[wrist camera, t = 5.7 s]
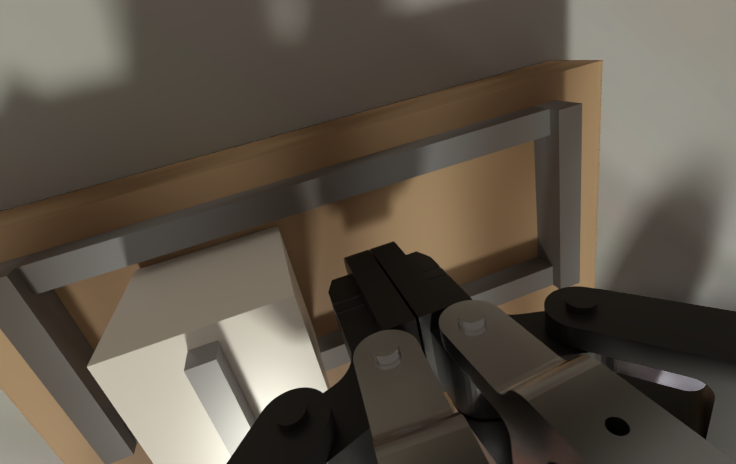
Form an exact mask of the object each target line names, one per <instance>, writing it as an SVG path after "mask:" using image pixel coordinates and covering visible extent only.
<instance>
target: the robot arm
mask: <svg viewBox="0 0 736 464" xmlns="http://www.w3.org/2000/svg"><path fill="white" fill-rule="evenodd" d="M344 263H345V267H346V271H347V274H348V275H346V276H343V277H340V278H337V279H334V280H332V281H331V285H330V288H329V291H328V293H329V296H330V300H331V303H332V306H333V309H334V313H335V316H336V319H337V322H338V326H339V329H340V332H341V335H342V338H343V341H344V344H345V346H346V349H347V352H348V354H349V357H350V360H351V364H350V366H349V369H348V370H347V372H346V374H345V375H344V376H343V377H342V379H341V380H340V381H339V382H337V383H336V384H335V385H334V386H332V387H331V388H329V389H328V390H327V391H325V392H324V393H322V392H321V391H319V390H317V389H314V388H308V387H303V388H296V389H292V390H289V391H287V392H285V393H282V394H281V395H279V396H277V397H276V398H275V399H273V400H272V401H271V402H270V403H269V404H268V405H267V406H266V407H265V408H264V410H263V411H262V412H261V414H260V415H259V417H258V418H257V420H256V421H255V422H254V424H253V425H252V427H251V428H250V430H249V431H248V433H247V434H246V436H245V437H244V439H243V440H242V441H241V443H240V444H239V446H238V447H237V449H236V450H235V452H234V453H233V455H232V456H231V458H230V459H229V460H228V462H227V463H226V464H736V312H735V311H729V310H723V309H717V308H711V307H705V306H699V305H693V304H687V303H681V302H675V301H669V300H662V299H656V298H650V297H644V296H638V295H632V294H626V293H620V292H614V291H608V290H602V289H596V288H590V287H582V286H573V287H565V288H561V289H558V290H555V291H553V292H552V293H550V294H549V295H548V296H547V297H546V299H545V302H544V311H540V312H532V313H524V314H514V315H508V314H506V313H505V312H504V311H502V310H501V309H500V308H499V307H497V306H496V305H494V304H492V303H489V302H486V301H481V300H473V299H472V298H471V297H470V296H469V295H468V294H467V293H466V292H465V291H464V290H463V289H462V288H461V287H460V286H459V285H458V284H457V283H456V282H455V281H454V280H453V279H452V278H451V277H450V276H449V275H447V273H446V272H445V271H444V270H443V269H442V268H440V266H439V265H438V264H437V263H436V262H435V261H434V260H433V259H432V258H431V257H430V256H427V255H425V254H422V253H420V252H417V251H416V252H413V253H410V254H407V255H406V254H405V253H404V252H403V251H402V250H401V249H400V247H399V246H398V245H397V244H396V243H395V242H394V241H393V242H390V243H387V244H383V245H380V246H377V247H374V248H371V249H369V250H366V251H363V252H360V253H357V254H354V255H351V256H348V257H345V258H344ZM618 359H619V360H623V361H628V362H632V363H636V364H640V365H644V366H648V367H652V368H656V369H660V370H664V371H668V372H672V373H676V374H680V375H684V376H688V377H692V378H695V379H697V380H700V381H702V382H703V383H705V384H706V386H705V387H704V388H703V389H701V390H698V391H683V390H679V389H676V388H672V387H668V386H664V385H661V384H657V383H653V382H649V381H646V380H642V379H638V378H634V377H631V376H627V375H623V374H619V373H617V360H618ZM444 392H447V394H448V396H449V397H450V399H451V400H452V404H453V410H454V412H453V410H452V408H451V406H450V404H449V402H448V400H447V398H446V396H445V394H444Z"/></svg>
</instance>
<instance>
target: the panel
mask: <svg viewBox="0 0 736 464" xmlns="http://www.w3.org/2000/svg"><path fill="white" fill-rule="evenodd" d="M602 64H603V60H552V61H546V62H543V63H539V64H535V65H532V66H528V67H524V68H521V69H517V70H513V71H510V72H506V73H503V74H499V75H495V76H492V77H488V78H484V79H481V80H477V81H473V82H470V83H466V84H463V85H459V86H455V87H452V88H448V89H444V90H441V91H437V92H433V93H430V94H426V95H423V96H419V97H415V98H412V99H408V100H404V101H401V102H397V103H393V104H390V105H386V106H382V107H379V108H375V109H372V110H368V111H364V112H361V113H357V114H353V115H350V116H346V117H342V118H339V119H335V120H332V121H328V122H324V123H321V124H317V125H313V126H310V127H306V128H302V129H299V130H295V131H291V132H288V133H284V134H281V135H277V136H273V137H270V138H266V139H262V140H259V141H255V142H251V143H248V144H244V145H241V146H237V147H233V148H230V149H226V150H222V151H219V152H215V153H211V154H208V155H204V156H201V157H197V158H193V159H190V160H186V161H182V162H179V163H175V164H171V165H168V166H164V167H160V168H157V169H153V170H150V171H146V172H142V173H139V174H135V175H131V176H128V177H124V178H120V179H117V180H113V181H110V182H106V183H102V184H99V185H95V186H91V187H88V188H84V189H80V190H77V191H73V192H70V193H66V194H62V195H59V196H55V197H51V198H48V199H44V200H40V201H37V202H33V203H29V204H26V205H22V206H19V207H15V208H11V209H8V210H4V211H0V388H1V389H2V390H3V391H4V393H5V394H6V395H7V396H8V397H9V399H10V400H11V401H12V402H13V403H14V404H15V406H16V407H17V408H18V409H19V410H20V412H21V413H22V414H23V415H24V416H25V418H26V419H27V420H28V421H29V422H30V424H31V425H32V426H33V427H34V428H35V430H36V431H37V432H38V433H39V434H40V435H41V437H42V438H43V439H44V440H45V441H46V443H47V444H48V445H49V446H50V447H51V449H52V450H53V451H54V452H55V453H56V455H57V456H58V457H59V458H60V459H61V460H62V462H63V463H64V464H153V462H152V461H151V460H150V458H149V457H148V455H147V454H146V452H145V451H144V449H143V448H142V447H141V445H140V444H139V442H138V441H137V439H136V438H135V436H134V435H133V433H132V432H131V431H130V429H129V428H128V426H127V425H126V423H125V422H124V420H123V419H122V418H121V416H120V415H119V413H118V412H117V410H116V409H115V407H114V406H113V405H112V403H111V402H110V400H109V399H108V397H107V396H106V394H105V393H104V391H103V390H102V389H101V387H100V386H99V384H98V383H97V381H96V380H95V378H94V377H93V376H92V374H91V373H90V371H89V370H88V368H87V365H88V363H89V361H90V359H91V357H92V355H93V353H94V351H95V349H96V347H97V345H98V343H99V341H100V339H101V337H102V335H103V333H104V331H105V329H106V327H107V326H108V324H109V322H110V320H111V318H112V316H113V314H114V312H115V310H116V308H117V306H118V304H119V302H120V300H121V298H122V296H123V294H124V292H125V290H126V288H127V286H128V284H129V282H130V280H131V278H132V276H133V274H134V272H135V270H137V269H141V268H144V267H147V266H150V265H153V264H157V263H160V262H163V261H166V260H169V259H173V258H176V257H179V256H182V255H185V254H189V253H192V252H195V251H198V250H201V249H205V248H208V247H211V246H214V245H217V244H221V243H224V242H227V241H230V240H233V239H237V238H240V237H243V236H246V235H249V234H253V233H256V232H259V231H262V230H265V229H269V228H272V227H275V226H278V227H279V230H280V233H281V236H282V239H283V242H284V245H285V248H286V250H287V253H288V256H289V259H290V262H291V265H292V268H293V271H294V274H295V276H296V279H297V282H298V285H299V288H300V291H301V294H302V297H303V300H304V302H305V305H306V308H307V311H308V314H309V317H310V320H311V323H312V326H313V329H314V331H315V335H316V338H317V342H318V346H319V349H320V353H321V356H322V360H323V364H324V367H325V371H326V374H327V378H328V381H329V385H330V388H331V387H332V386H334V385H335V384H336V383H337V382H339V381H340V380H341V379H342V377H343V376H344V375H345V374H346V372H347V370H348V369H349V366H350V364H351V360H350V357H349V354H348V352H347V349H346V346H345V344H344V341H343V338H342V335H341V332H340V329H339V326H338V322H337V319H336V316H335V313H334V309H333V306H332V303H331V300H330V296H329V293H328V291H329V288H330V285H331V281H332V280H334V279H337V278H340V277H343V276H346V275H348V274H347V271H346V267H345V263H344V258H345V257H348V256H351V255H354V254H357V253H360V252H363V251H366V250H369V249H371V248H374V247H377V246H380V245H383V244H387V243H390V242H393V241H394V242H395V243H396V244H397V245H398V246H399V247H400V249H401V250H402V251H403V252H404V253H405V254H406V255H407V254H410V253H413V252H416V251H417V252H420V253H422V254H425V255H427V256H430V257H431V258H432V259H433V260H434V261H435V262H436V263H437V264H438V265H439V266H440V268H442V269H443V270H444V271H445V272H446V273H447V275H449V276H450V277H451V278H452V279H453V280H454V281H455V282H456V283H457V284H458V285H459V286H460V287H461V288H462V289H463V290H464V291H465V292H466V293H467V294H468V295H469V296H470V297H471V298H472V299H473V300H481V301H486V302H489V303H492V304H494V305H496V306H497V307H499V308H500V309H501V310H502V311H504V312H505V313H506V314H508V315H514V314H524V313H532V312H540V311H544V302H545V299H546V297H547V296H548V295H549V294H550V293H552V292H553V291H555V290H558V289H561V288H565V287H573V286H582V287H590V288H595V268H596V239H597V210H598V181H599V151H600V122H601V93H602ZM444 394H445V396H446V398H447V400H448V402H449V404H450V406H451V408H452V410H453V404H452V400H451V399H450V397H449V396H448V394H447V392H444ZM453 412H454V410H453Z"/></svg>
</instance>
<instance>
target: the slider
mask: <svg viewBox="0 0 736 464" xmlns="http://www.w3.org/2000/svg"><path fill="white" fill-rule="evenodd" d="M87 368H88V370H89V371H90V373H91V374H92V376H93V377H94V378H95V380H96V381H97V383H98V384H99V386H100V387H101V389H102V390H103V391H104V393H105V394H106V396H107V397H108V399H109V400H110V402H111V403H112V405H113V406H114V407H115V409H116V410H117V412H118V413H119V415H120V416H121V418H122V419H123V420H124V422H125V423H126V425H127V426H128V428H129V429H130V431H131V432H132V433H133V435H134V436H135V438H136V439H137V441H138V442H139V444H140V445H141V447H142V448H143V449H144V451H145V452H146V454H147V455H148V457H149V458H150V460H151V461H152V462H153V464H226V463H227V462H228V460H229V459H230V458H231V456H232V455H233V453H234V452H235V450H236V449H237V447H238V446H239V444H240V443H241V441H242V440H243V439H244V437H245V436H246V434H247V433H248V431H249V430H250V428H251V427H252V425H253V424H254V422H255V421H256V420H257V418H258V417H259V415H260V414H261V412H262V411H263V410H264V408H265V407H266V406H267V405H268V404H269V403H270V402H271V401H272V400H273V399H275V398H276V397H277V396H279V395H281V394H282V393H285V392H287V391H289V390H292V389H296V388H303V387H308V388H314V389H317V390H319V391H321V392H322V393H324V392H325V391H327V390H328V389H329V388H330V385H329V381H328V378H327V374H326V371H325V367H324V364H323V360H322V356H321V353H320V349H319V346H318V342H317V338H316V335H315V331H314V329H313V326H312V323H311V320H310V317H309V314H308V311H307V308H306V305H305V302H304V300H303V297H302V294H301V291H300V288H299V285H298V282H297V279H296V276H295V274H294V271H293V268H292V265H291V262H290V259H289V256H288V253H287V250H286V248H285V245H284V242H283V239H282V236H281V233H280V230H279V227H278V226H275V227H272V228H269V229H265V230H262V231H259V232H256V233H253V234H249V235H246V236H243V237H240V238H237V239H233V240H230V241H227V242H224V243H221V244H217V245H214V246H211V247H208V248H205V249H201V250H198V251H195V252H192V253H189V254H185V255H182V256H179V257H176V258H173V259H169V260H166V261H163V262H160V263H157V264H153V265H150V266H147V267H144V268H141V269H137V270H135V272H134V274H133V276H132V278H131V280H130V282H129V284H128V286H127V288H126V290H125V292H124V294H123V296H122V298H121V300H120V302H119V304H118V306H117V308H116V310H115V312H114V314H113V316H112V318H111V320H110V322H109V324H108V326H107V327H106V329H105V331H104V333H103V335H102V337H101V339H100V341H99V343H98V345H97V347H96V349H95V351H94V353H93V355H92V357H91V359H90V361H89V363H88V365H87Z"/></svg>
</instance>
